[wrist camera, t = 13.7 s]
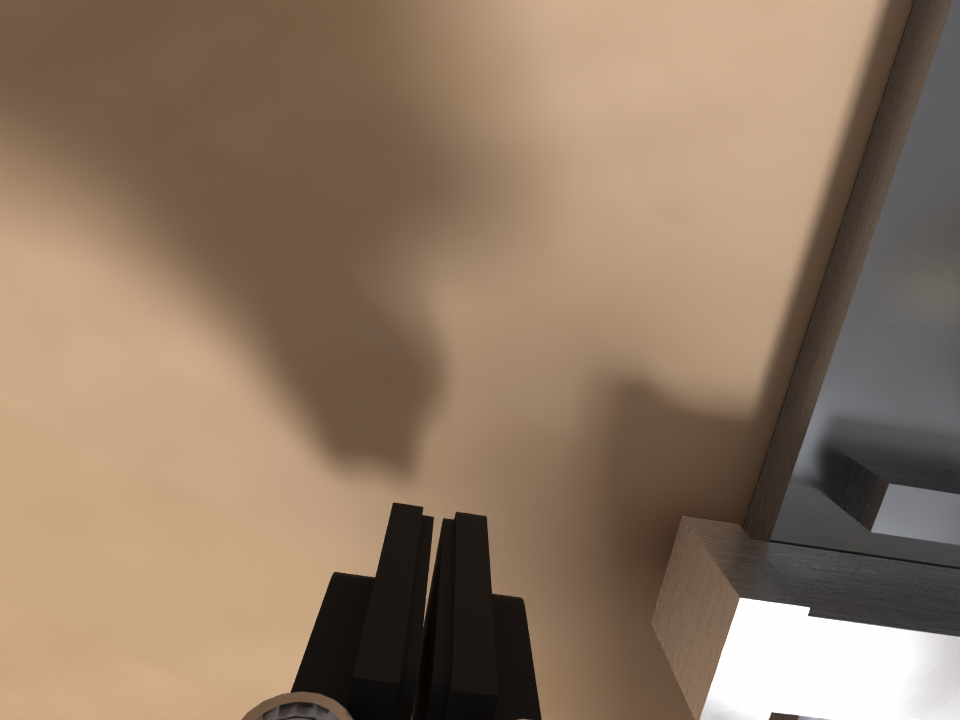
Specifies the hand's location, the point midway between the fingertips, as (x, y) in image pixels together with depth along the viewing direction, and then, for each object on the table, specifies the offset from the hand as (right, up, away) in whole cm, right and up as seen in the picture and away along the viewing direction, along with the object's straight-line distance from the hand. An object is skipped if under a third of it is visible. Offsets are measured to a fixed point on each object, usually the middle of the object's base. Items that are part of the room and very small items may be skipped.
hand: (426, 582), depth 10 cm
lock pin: (+9, -1, +2) cm, 10 cm away
